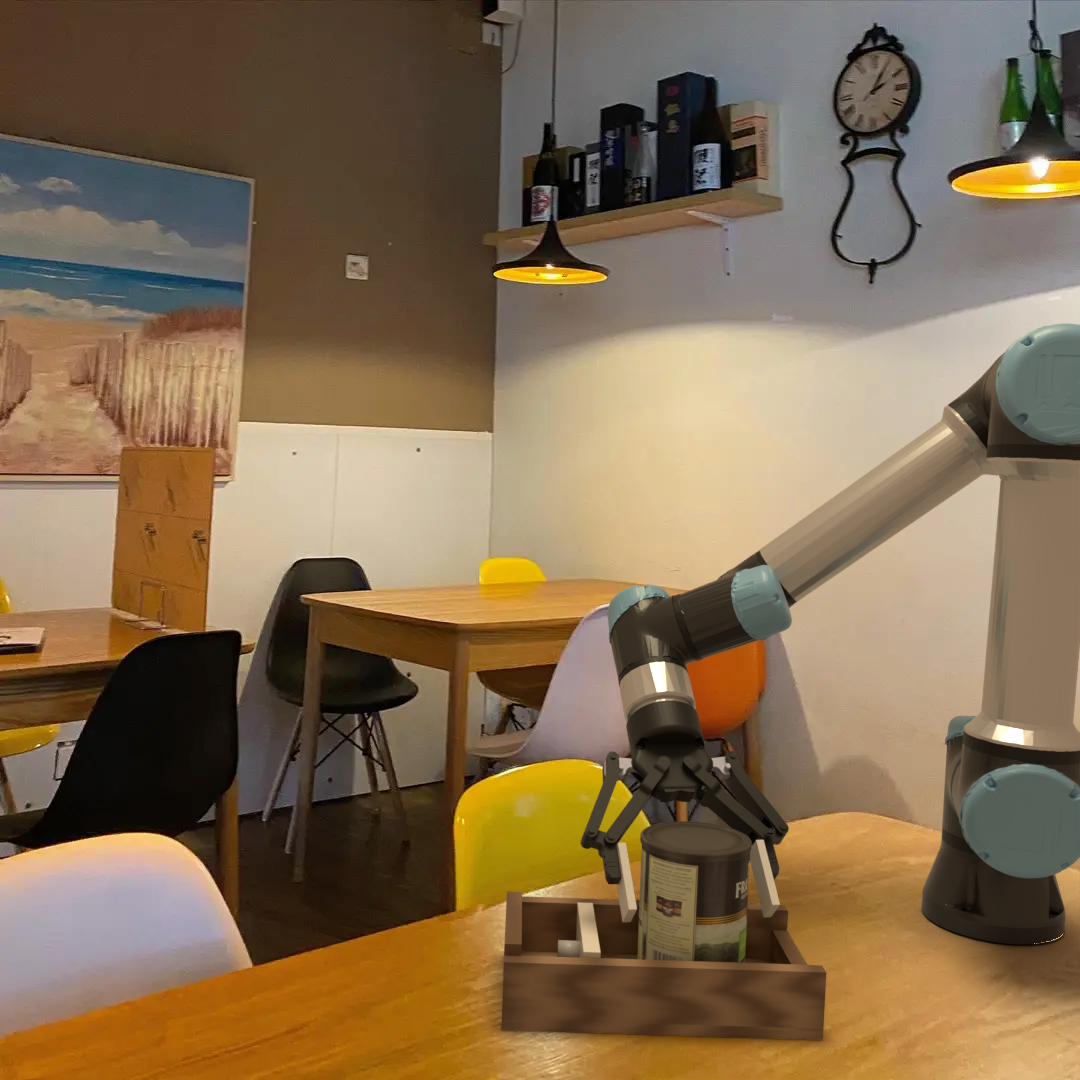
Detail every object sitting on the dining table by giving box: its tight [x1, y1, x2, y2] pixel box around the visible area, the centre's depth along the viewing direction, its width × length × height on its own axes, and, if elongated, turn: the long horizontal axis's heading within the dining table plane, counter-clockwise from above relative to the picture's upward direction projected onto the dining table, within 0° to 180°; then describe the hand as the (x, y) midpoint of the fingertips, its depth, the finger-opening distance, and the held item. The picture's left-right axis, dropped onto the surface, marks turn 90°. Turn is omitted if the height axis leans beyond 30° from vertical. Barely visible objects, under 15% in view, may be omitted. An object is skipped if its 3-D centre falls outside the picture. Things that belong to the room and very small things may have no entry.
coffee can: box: [637, 820, 752, 963], centre depth 107 cm, size 10×10×14 cm
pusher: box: [557, 903, 601, 958], centre depth 107 cm, size 4×12×5 cm, turn 1°
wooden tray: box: [500, 891, 827, 1041], centre depth 107 cm, size 28×16×7 cm, turn 91°
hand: (701, 913), depth 105 cm, fingers open, 13 cm apart
